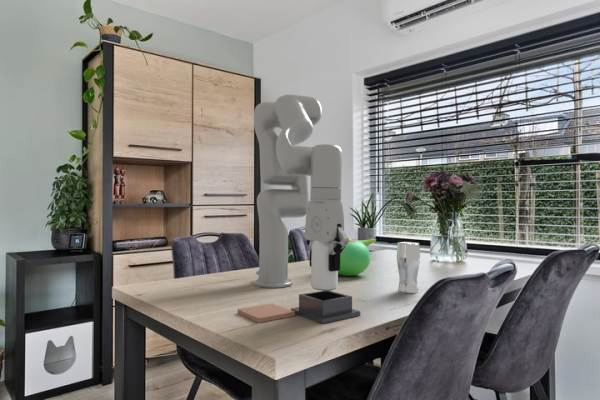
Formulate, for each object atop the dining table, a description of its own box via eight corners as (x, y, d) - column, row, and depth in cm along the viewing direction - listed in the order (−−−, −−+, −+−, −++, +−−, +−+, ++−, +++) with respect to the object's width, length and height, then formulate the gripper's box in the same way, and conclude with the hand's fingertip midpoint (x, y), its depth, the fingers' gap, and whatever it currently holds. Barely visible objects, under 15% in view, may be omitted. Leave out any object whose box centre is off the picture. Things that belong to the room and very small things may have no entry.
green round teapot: (315, 274, 157) (315, 235, 157) (344, 269, 169) (344, 233, 169) (351, 281, 144) (351, 239, 144) (380, 275, 155) (381, 236, 156)
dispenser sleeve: (290, 312, 102) (291, 294, 102) (327, 305, 109) (327, 288, 109) (322, 323, 92) (322, 303, 92) (360, 315, 100) (360, 296, 100)
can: (309, 285, 104) (310, 237, 104) (335, 285, 105) (335, 237, 105) (312, 291, 98) (313, 240, 98) (339, 290, 99) (340, 240, 98)
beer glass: (420, 294, 124) (421, 244, 124) (396, 293, 125) (397, 243, 125) (418, 289, 130) (419, 242, 131) (396, 288, 132) (396, 241, 132)
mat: (237, 313, 101) (237, 309, 101) (271, 307, 107) (271, 303, 107) (259, 322, 93) (259, 318, 93) (294, 315, 99) (294, 311, 99)
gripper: (292, 195, 106) (291, 264, 106) (338, 195, 92) (336, 275, 92) (315, 195, 110) (314, 262, 111) (362, 196, 97) (360, 272, 97)
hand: (324, 267), depth 101 cm, fingers closed on can, 6 cm apart
